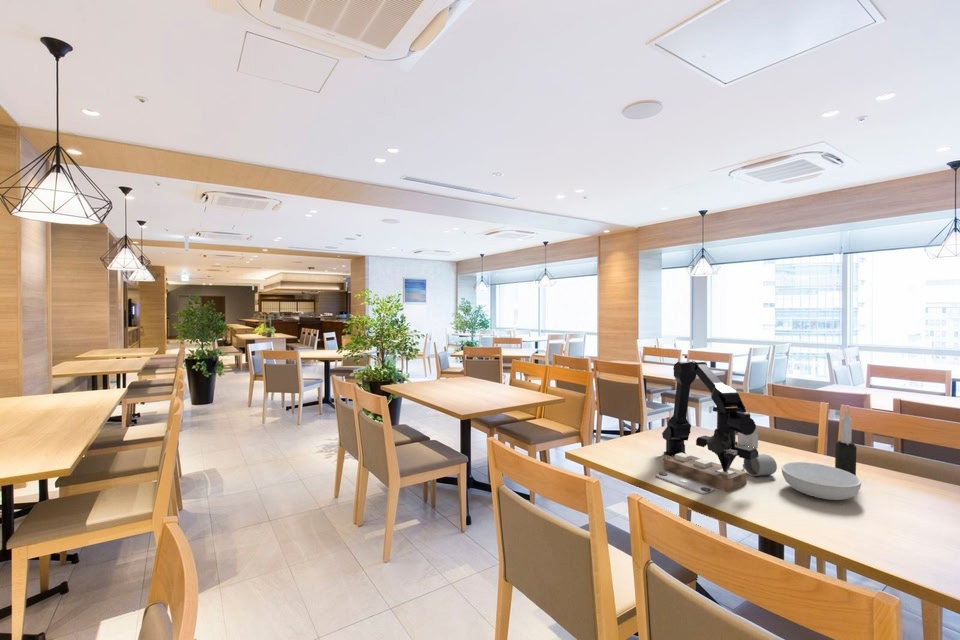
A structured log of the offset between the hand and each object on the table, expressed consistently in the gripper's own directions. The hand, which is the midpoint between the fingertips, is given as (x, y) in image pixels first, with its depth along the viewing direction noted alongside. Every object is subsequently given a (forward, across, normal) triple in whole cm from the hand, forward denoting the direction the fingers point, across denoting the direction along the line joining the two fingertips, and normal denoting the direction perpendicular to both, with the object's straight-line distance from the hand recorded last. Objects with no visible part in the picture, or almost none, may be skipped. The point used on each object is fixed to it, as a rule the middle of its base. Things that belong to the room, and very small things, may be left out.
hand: (725, 471), depth 154 cm
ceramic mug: (+5, +1, +19) cm, 20 cm away
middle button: (+2, -8, 0) cm, 8 cm away
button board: (+4, -8, 0) cm, 9 cm away
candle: (+4, +21, +39) cm, 44 cm away
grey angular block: (+5, -18, +51) cm, 54 cm away
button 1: (+2, -16, 0) cm, 16 cm away
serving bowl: (+5, +21, +18) cm, 28 cm away
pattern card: (+4, -8, -12) cm, 15 cm away
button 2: (+3, 0, 0) cm, 3 cm away
